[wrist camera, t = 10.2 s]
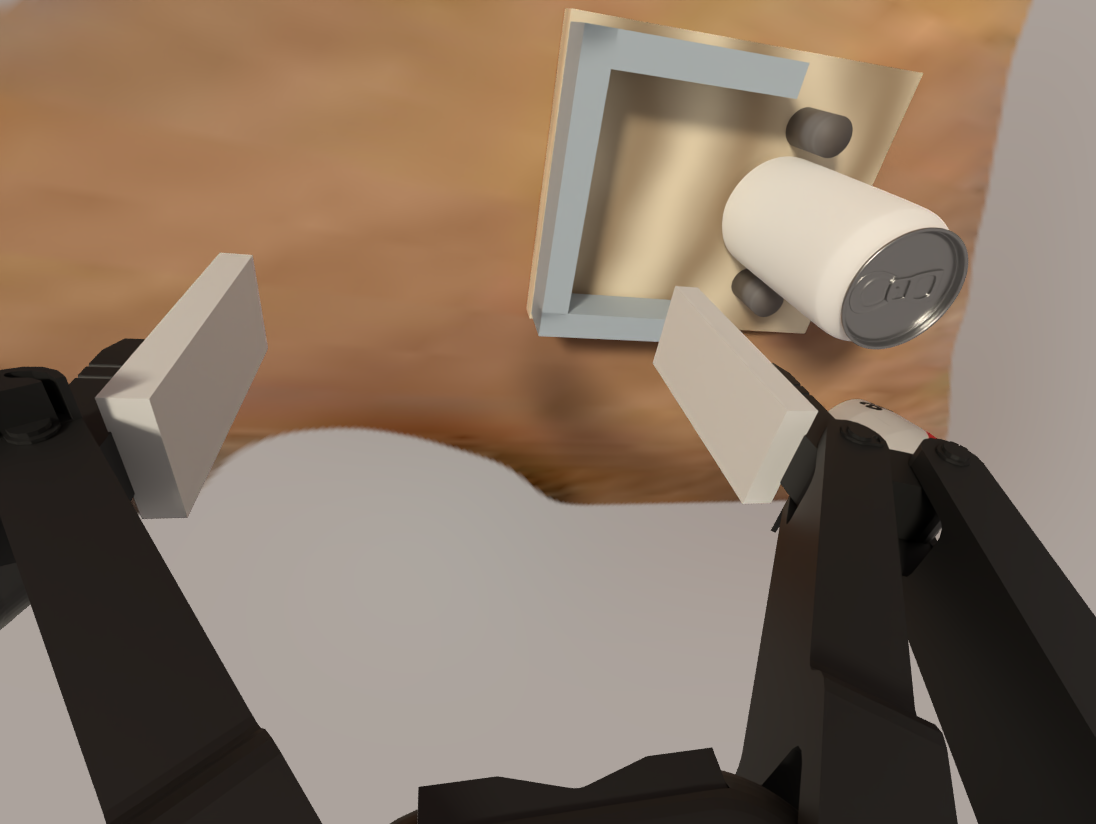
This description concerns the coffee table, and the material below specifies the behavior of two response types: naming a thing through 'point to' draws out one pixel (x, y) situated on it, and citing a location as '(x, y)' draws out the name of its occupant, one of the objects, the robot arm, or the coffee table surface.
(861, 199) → the can
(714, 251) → the base plate
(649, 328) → the grey frame
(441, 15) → the coffee table surface
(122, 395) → the robot arm
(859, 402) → the cup
